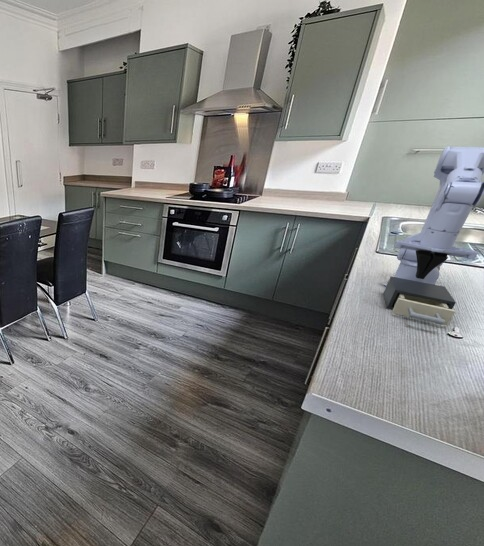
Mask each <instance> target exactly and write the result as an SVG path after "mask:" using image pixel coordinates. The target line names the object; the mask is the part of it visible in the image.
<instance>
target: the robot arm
mask: <svg viewBox="0 0 484 546" xmlns="http://www.w3.org/2000/svg"><path fill="white" fill-rule="evenodd" d="M483 175H484V146H450V145H448V146H445V147H444V148H443V149H442V152H441V154H440V157H439V159H438V160H437V164H436V167H435V169H434V171H433V178H435V179H437V180H439V189H438V191H437V193H436V195H435V197H434V200H433V202H432V205H431V207H430V209H429V211H428V214H427V216H426V218H425V221H424V223H423V226H422V228H421V230H420V232H417V233H415V234H412V235H411V234H410V235H408V236H407V237H406V238H405V239H404V240H401V239H396V241H395V243H394V248H395V249H398V252H397V256H396V259H397V261H400V262H399V264H398V267H397V269H396V271H395V273H394V275H393V277H397V278H402V279H407V280H413V281H418V282H423V283H428V284H434V285H436V283H437V281H438V279H439V277H440V270H438V268H437V267H439V266H440V267H442V266H443V264H444V263H445V262H446V261H447V260H448V256H449V257H450V256H451V257H457V258H463V259H467V260H472V261H473V260H475V259H476V257H477V255H478V254H479V252H478V251H477V250H473V249H467V248H461V247H456V246H454V244H455V242H456V240H457V239H458V237H459V235H460V232H461V230H462V229H463V227H464V225H465V223H466V221H467V219H468V217H469V215H470V213H471V211H472V209H473V208H475V207H476V206H477V205H478V204H479V202H481V200H482V198H483V196H484V181H482V178H483ZM387 284H388V282H382V285H383V286H385V287H386V286H387Z"/></svg>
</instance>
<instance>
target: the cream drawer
mask: <svg viewBox="0 0 484 546" xmlns="http://www.w3.org/2000/svg"><path fill="white" fill-rule="evenodd" d="M448 308H449V307H448V306H447V304H446V303H443V302H438V301H433V300H429V299H424V298H419V297H414V296H410V295H405V294H400V293H398V294H397V296H396V298H395V300H394V308H393V310H392V311H391V312H392V313H393V314H395V315H399V316H400V315H401V316H403V317H404V316H405V317H409V318H413V319H416V320H421V321H425V322H429V323H433V324H436V325H440V326H444V327H445V326H446V327H448V326H449V324H450V322H451V321H452V319H453V317H454V315H455V314H456V310H455V309H448Z"/></svg>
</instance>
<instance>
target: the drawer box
mask: <svg viewBox="0 0 484 546" xmlns="http://www.w3.org/2000/svg"><path fill="white" fill-rule="evenodd" d="M387 283H388V284H387V286H385V288H384V289H383V293H382V295H383V299H384V302H385V303H384V304H385V307H386V309H387V310H393V308H394V300H395V298H396V296H397V294H398V293H400V294H405V295H410V296H414V297H419V298H424V299H429V300H433V301H438V302H443V303H446V304H447V306H448V307H449V308H448V309H452V310H454V307H455V305H456V303H457V302H456V300H455V298H454V297H453V296H452V295H451V293H450V292H449V290H448V289H447V287H446V286H443V285H438V284H435V285H434V284H428V283H423V282H418V281H413V280H407V279H402V278H397V277H394V276H390V277H389V279H388V282H387Z"/></svg>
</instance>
